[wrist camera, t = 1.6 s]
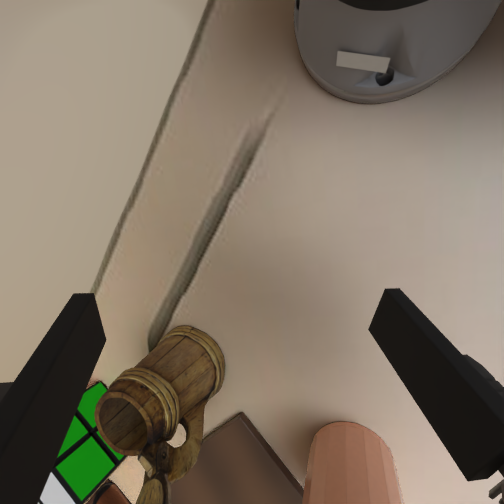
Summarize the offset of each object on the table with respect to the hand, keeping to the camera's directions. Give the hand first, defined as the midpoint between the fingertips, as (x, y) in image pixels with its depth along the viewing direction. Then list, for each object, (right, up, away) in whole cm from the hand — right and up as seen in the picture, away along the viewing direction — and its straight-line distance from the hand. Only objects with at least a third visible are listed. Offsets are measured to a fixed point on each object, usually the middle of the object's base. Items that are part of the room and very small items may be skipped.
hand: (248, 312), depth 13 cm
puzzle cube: (-20, -22, +27) cm, 40 cm away
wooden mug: (-5, -12, +20) cm, 24 cm away
